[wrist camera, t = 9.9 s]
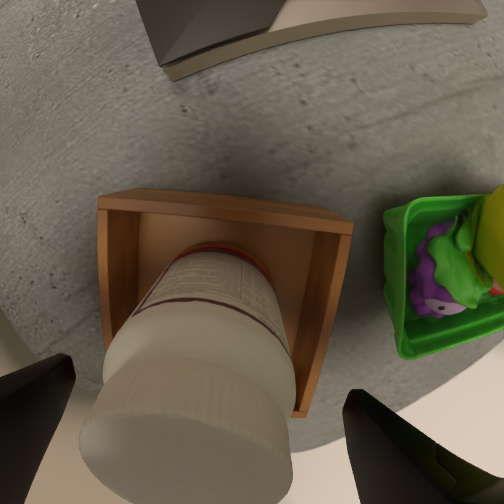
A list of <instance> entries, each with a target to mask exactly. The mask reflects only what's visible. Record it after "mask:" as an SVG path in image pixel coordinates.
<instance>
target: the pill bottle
mask: <svg viewBox="0 0 504 504" xmlns="http://www.w3.org/2000/svg"><path fill="white" fill-rule="evenodd" d="M103 384H104V386H103V388H102V389H101V391H100V393H99V395H98V397H97V399H96V402H95V404H94V406H93V407H92V409H91V411H90V413H89V414H88V416H87V418H86V419H85V422H84V424H83V426H82V429H81V431H80V435H79V449H80V453H81V456H82V458H83V460H84V462H85V463H86V465H87V467H88V468H89V469H90V471H91V472H92V473H93V475H94V476H95V477H96V478H97V479H98V480H99V481H100V482H101V483H103V484H104V485H105V486H106V487H108V488H109V489H110V490H111V491H113V492H114V493H116V494H117V495H119V496H120V497H122V498H124V499H125V500H127V501H129V502H131V503H133V504H277V503H278V502H280V501H281V500H282V499H283V498H284V496H285V495H286V494H287V493H288V491H289V489H290V486H291V483H292V480H293V470H292V461H291V455H290V448H289V436H288V429H287V423H288V421H289V419H290V417H291V415H292V412H293V409H294V406H295V399H296V383H295V373H294V368H293V364H292V360H291V356H290V351H289V345H288V341H287V337H286V332H285V328H284V325H283V321H282V317H281V313H280V309H279V305H278V302H277V297H276V294H275V290H274V287H273V284H272V281H271V279H270V276H269V275H268V273H267V271H266V270H265V268H264V267H263V265H262V264H261V263H260V262H259V261H258V260H257V259H256V258H255V257H253V256H252V255H251V254H249V253H248V252H246V251H244V250H242V249H240V248H238V247H235V246H232V245H229V244H223V243H204V244H200V245H196V246H193V247H191V248H189V249H187V250H185V251H183V252H181V253H180V254H179V255H177V256H176V257H175V258H174V259H173V260H172V261H171V262H170V263H169V264H168V265H167V267H166V268H165V269H164V271H163V272H162V273H161V275H160V276H159V277H158V279H157V280H156V281H155V283H154V284H153V286H152V287H151V288H150V289H149V291H148V292H147V294H146V295H145V296H144V298H143V299H142V301H141V302H140V303H139V304H138V306H137V307H136V309H135V310H134V311H133V313H132V314H131V315H130V317H129V318H128V320H127V321H126V322H125V323H124V324H123V326H122V327H121V328H120V329H119V331H118V332H117V334H116V336H115V337H114V339H113V341H112V342H111V344H110V346H109V348H108V350H107V353H106V356H105V359H104V364H103Z"/></svg>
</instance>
